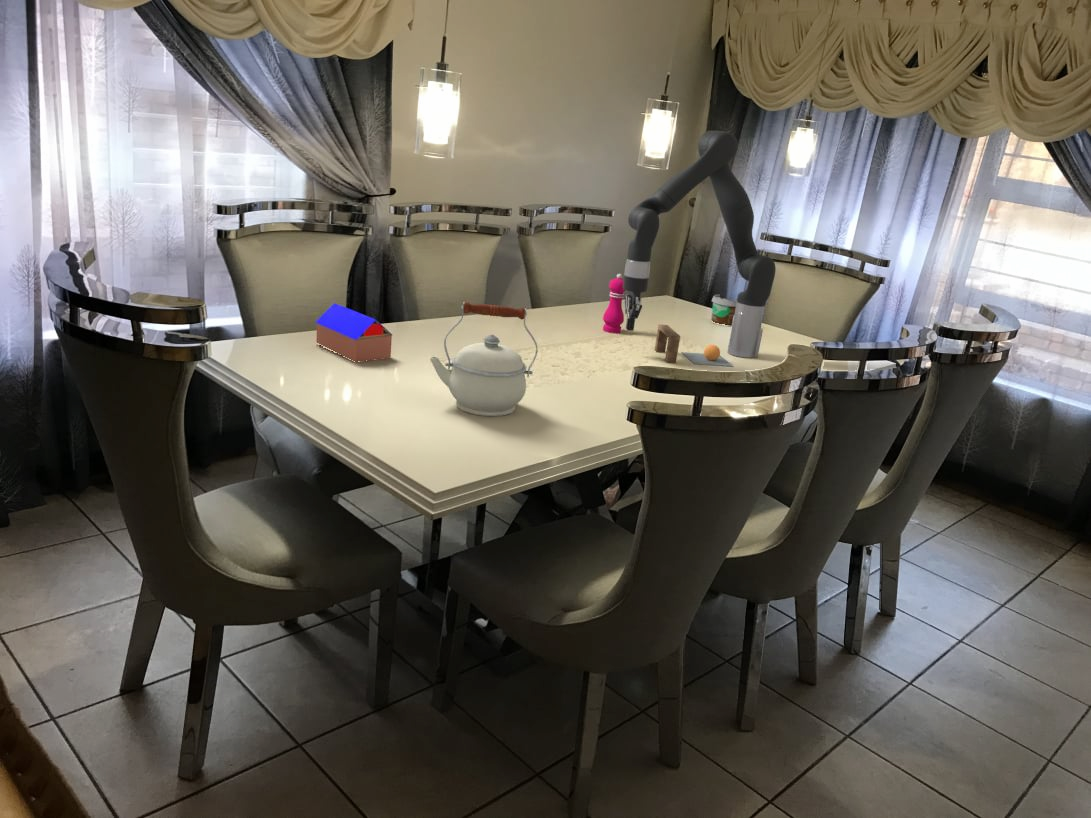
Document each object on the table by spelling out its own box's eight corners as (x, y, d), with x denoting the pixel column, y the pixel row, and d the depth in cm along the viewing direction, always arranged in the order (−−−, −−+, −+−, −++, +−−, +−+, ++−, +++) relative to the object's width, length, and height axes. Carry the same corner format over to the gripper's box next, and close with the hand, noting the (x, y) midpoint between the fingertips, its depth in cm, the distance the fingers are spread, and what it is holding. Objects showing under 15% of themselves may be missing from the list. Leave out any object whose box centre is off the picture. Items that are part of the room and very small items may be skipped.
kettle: (530, 399, 213) (540, 301, 205) (531, 424, 196) (543, 318, 188) (430, 389, 212) (437, 291, 204) (422, 413, 194) (429, 307, 187)
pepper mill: (598, 330, 294) (605, 272, 287) (606, 327, 300) (614, 270, 293) (617, 334, 291) (625, 276, 284) (625, 331, 297) (633, 274, 290)
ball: (718, 355, 274) (715, 341, 272) (723, 359, 269) (720, 344, 267) (704, 360, 274) (700, 346, 272) (709, 364, 269) (705, 350, 267)
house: (355, 364, 226) (356, 321, 222) (314, 345, 239) (315, 304, 235) (392, 359, 234) (394, 317, 231) (351, 341, 247) (352, 301, 243)
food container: (701, 319, 332) (706, 293, 329) (714, 319, 334) (719, 294, 331) (720, 327, 321) (725, 301, 318) (733, 327, 324) (738, 301, 321)
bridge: (663, 351, 276) (667, 325, 273) (675, 363, 263) (680, 336, 260) (654, 350, 275) (658, 324, 273) (666, 362, 262) (671, 335, 260)
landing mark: (719, 355, 279) (719, 354, 279) (733, 366, 267) (733, 366, 267) (681, 352, 277) (681, 352, 276) (693, 364, 264) (694, 363, 264)
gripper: (654, 279, 253) (646, 336, 259) (643, 271, 266) (635, 325, 271) (630, 278, 252) (622, 334, 258) (619, 269, 264) (613, 324, 270)
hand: (629, 330), depth 265 cm, fingers closed
